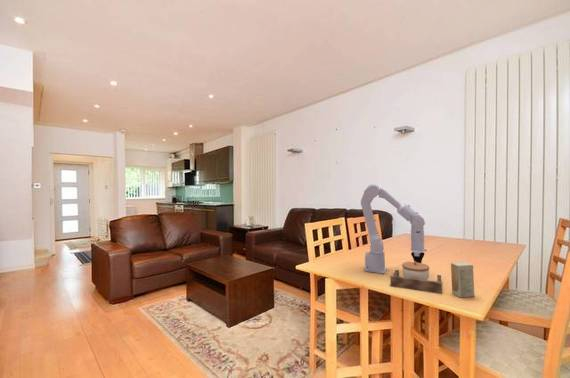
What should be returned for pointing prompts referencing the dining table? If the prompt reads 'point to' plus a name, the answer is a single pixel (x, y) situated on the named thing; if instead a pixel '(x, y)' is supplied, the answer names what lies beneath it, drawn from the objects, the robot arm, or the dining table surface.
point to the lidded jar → (415, 270)
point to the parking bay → (416, 283)
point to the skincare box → (462, 279)
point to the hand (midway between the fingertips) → (418, 267)
